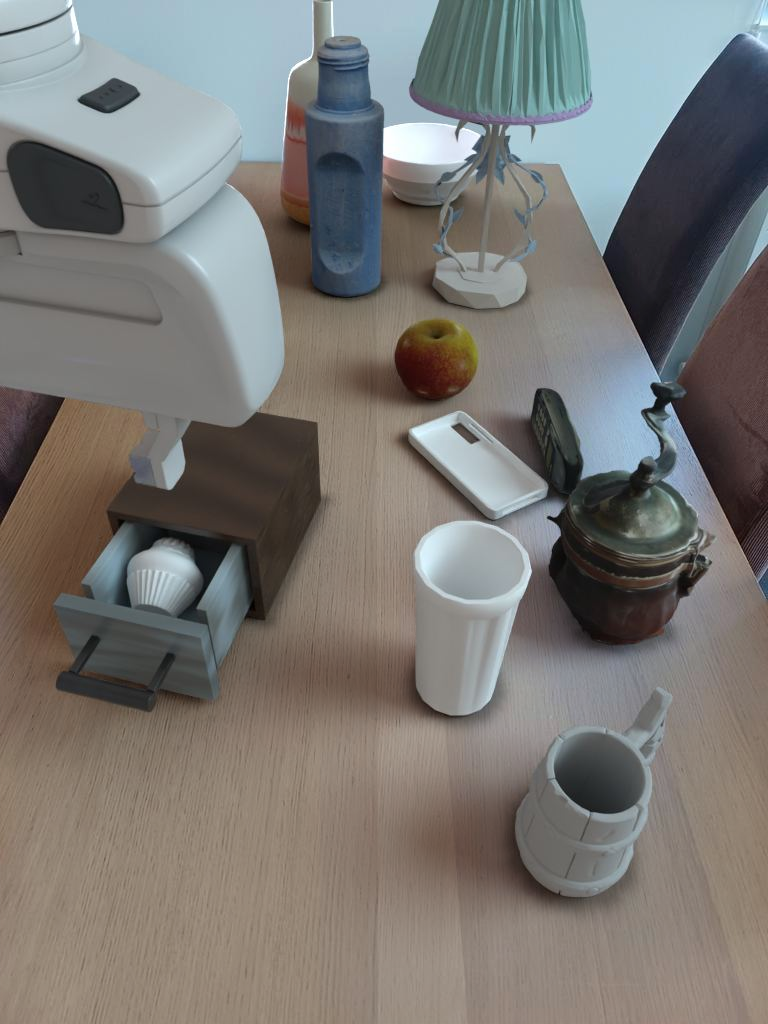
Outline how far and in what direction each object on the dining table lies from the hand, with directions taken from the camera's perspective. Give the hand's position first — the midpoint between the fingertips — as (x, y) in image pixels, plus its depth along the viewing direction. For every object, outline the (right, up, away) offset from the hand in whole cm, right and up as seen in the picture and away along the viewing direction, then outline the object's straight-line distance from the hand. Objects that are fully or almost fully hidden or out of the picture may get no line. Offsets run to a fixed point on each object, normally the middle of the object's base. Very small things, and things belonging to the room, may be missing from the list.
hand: (61, 458), depth 35 cm
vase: (+5, +45, +93) cm, 104 cm away
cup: (+20, -16, +29) cm, 39 cm away
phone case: (+23, +2, +49) cm, 54 cm away
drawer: (-3, -12, +31) cm, 33 cm away
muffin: (-4, -10, +28) cm, 30 cm away
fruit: (+20, +12, +59) cm, 64 cm away
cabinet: (0, -5, +40) cm, 40 cm away
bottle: (+9, +30, +78) cm, 84 cm away
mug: (+28, -24, +21) cm, 42 cm away
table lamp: (+27, +29, +78) cm, 87 cm away
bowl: (+21, +51, +101) cm, 115 cm away
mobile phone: (+32, +3, +50) cm, 59 cm away
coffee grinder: (+33, -10, +37) cm, 50 cm away
